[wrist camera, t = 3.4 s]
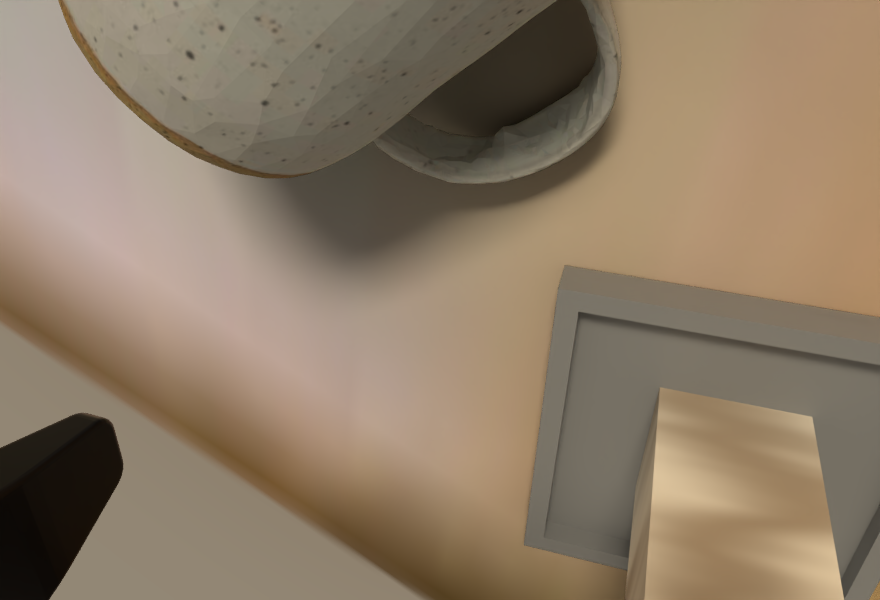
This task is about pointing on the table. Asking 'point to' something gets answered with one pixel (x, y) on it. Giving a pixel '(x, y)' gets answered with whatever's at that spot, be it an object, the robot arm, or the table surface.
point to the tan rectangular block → (730, 506)
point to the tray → (703, 373)
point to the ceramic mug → (330, 80)
